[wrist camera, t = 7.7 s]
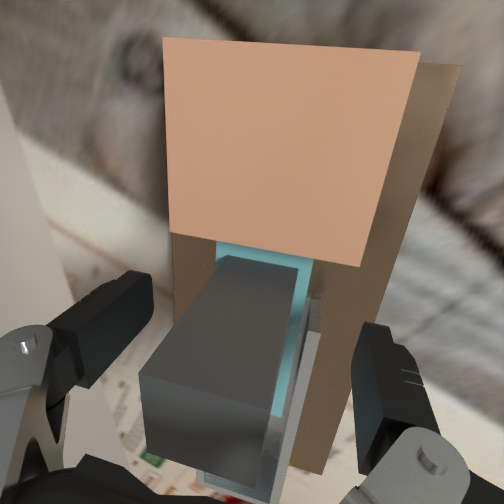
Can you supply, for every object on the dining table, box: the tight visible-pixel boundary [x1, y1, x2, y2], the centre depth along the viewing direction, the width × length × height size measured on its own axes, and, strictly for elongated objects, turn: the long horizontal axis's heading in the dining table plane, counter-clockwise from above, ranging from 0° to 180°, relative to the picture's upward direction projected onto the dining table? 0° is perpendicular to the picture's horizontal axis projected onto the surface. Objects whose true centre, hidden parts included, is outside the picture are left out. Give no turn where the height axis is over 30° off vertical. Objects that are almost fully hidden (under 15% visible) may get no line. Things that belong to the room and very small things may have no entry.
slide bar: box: [138, 241, 314, 488], centre depth 11 cm, size 14×4×9 cm, turn 175°
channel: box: [172, 63, 463, 504], centre depth 17 cm, size 27×12×4 cm, turn 175°
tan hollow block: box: [163, 37, 421, 267], centre depth 11 cm, size 6×7×5 cm
